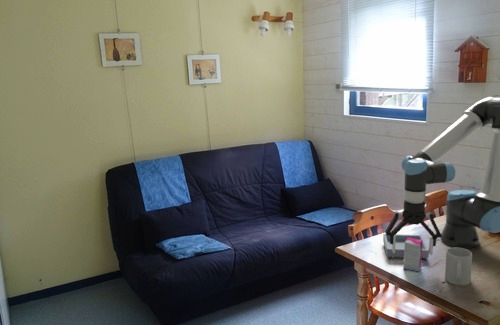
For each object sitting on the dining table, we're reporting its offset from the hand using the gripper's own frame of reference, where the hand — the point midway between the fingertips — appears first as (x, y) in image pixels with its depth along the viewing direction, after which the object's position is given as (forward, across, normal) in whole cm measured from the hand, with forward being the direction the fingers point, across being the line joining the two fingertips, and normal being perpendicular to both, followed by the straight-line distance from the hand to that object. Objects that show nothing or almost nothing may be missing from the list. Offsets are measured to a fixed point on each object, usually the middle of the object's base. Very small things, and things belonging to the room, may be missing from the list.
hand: (411, 252), depth 163 cm
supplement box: (+7, 0, 0) cm, 7 cm away
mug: (+6, -14, +10) cm, 19 cm away
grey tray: (+6, 0, -14) cm, 16 cm away
